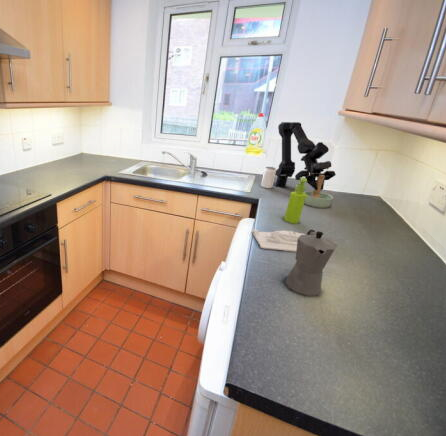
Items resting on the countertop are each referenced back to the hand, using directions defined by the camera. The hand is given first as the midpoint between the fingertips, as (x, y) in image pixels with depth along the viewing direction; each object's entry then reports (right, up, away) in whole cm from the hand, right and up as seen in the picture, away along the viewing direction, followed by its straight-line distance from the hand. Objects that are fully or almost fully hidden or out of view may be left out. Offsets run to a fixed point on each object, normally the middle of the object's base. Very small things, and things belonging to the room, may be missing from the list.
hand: (319, 189), depth 153 cm
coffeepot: (-49, -35, -65) cm, 89 cm away
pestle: (0, -6, +4) cm, 7 cm away
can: (-13, +4, +30) cm, 33 cm away
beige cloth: (-40, -25, -40) cm, 62 cm away
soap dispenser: (-26, -16, -20) cm, 37 cm away
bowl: (0, -7, +3) cm, 8 cm away
